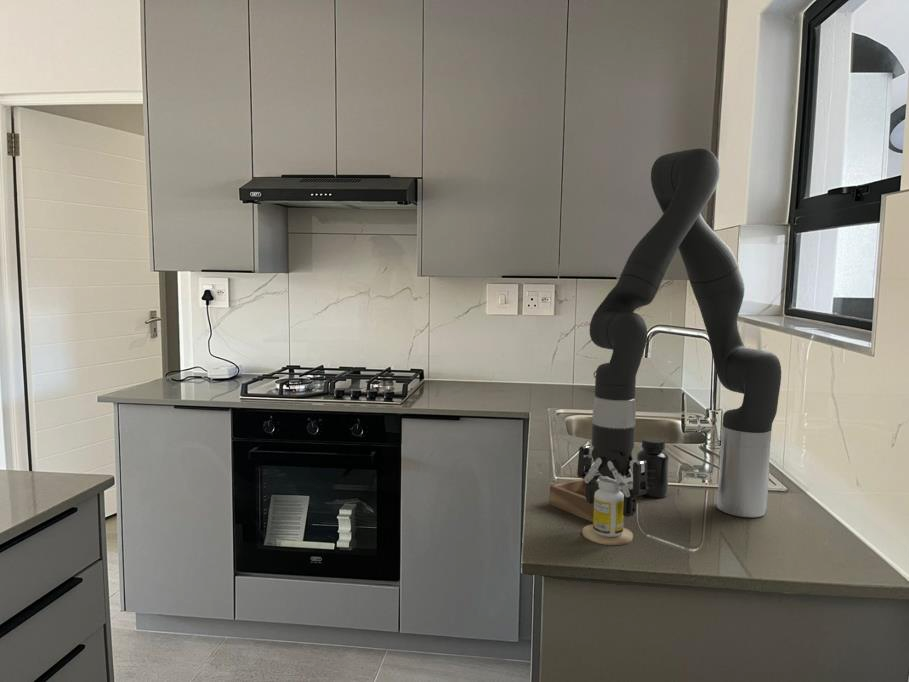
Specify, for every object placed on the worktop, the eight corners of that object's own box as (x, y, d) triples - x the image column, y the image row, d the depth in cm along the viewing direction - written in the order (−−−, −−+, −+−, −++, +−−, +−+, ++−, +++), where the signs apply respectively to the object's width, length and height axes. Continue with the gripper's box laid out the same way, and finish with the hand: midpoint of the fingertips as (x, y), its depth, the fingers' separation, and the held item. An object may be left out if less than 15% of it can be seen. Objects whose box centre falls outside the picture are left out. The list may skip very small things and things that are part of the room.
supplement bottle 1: (618, 527, 132) (621, 475, 131) (626, 538, 127) (629, 484, 126) (589, 526, 132) (592, 475, 131) (596, 537, 126) (599, 484, 125)
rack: (582, 496, 151) (583, 477, 151) (631, 514, 141) (632, 494, 141) (549, 504, 145) (550, 485, 145) (597, 524, 135) (598, 503, 134)
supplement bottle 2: (642, 486, 159) (645, 434, 158) (672, 493, 155) (675, 439, 153) (629, 493, 154) (632, 439, 152) (659, 501, 149) (662, 445, 148)
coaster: (604, 523, 135) (605, 520, 135) (643, 538, 128) (643, 535, 128) (572, 532, 130) (572, 529, 130) (610, 549, 123) (610, 546, 123)
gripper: (659, 426, 124) (655, 516, 125) (597, 412, 135) (593, 494, 137) (632, 432, 119) (627, 525, 121) (569, 416, 130) (566, 502, 132)
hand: (609, 509), depth 129 cm, fingers open, 8 cm apart
